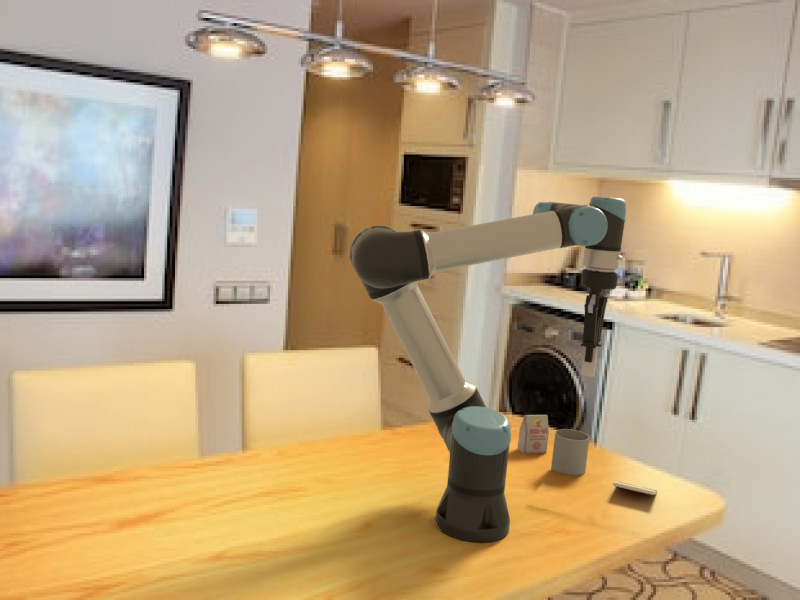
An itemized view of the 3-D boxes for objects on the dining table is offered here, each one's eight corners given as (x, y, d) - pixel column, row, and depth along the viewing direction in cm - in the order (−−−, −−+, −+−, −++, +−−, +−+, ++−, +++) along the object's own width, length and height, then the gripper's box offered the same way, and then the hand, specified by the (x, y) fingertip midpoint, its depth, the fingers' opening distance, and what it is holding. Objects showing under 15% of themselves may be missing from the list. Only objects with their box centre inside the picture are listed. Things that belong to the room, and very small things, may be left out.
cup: (575, 482, 182) (580, 442, 180) (545, 472, 186) (549, 433, 185) (590, 473, 188) (594, 435, 187) (559, 464, 193) (564, 426, 192)
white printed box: (517, 448, 202) (521, 413, 200) (540, 448, 204) (544, 412, 202) (523, 453, 199) (527, 417, 197) (546, 453, 200) (550, 417, 199)
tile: (612, 481, 171) (612, 485, 171) (653, 491, 167) (653, 495, 167) (618, 481, 181) (617, 485, 180) (657, 490, 177) (656, 494, 177)
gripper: (612, 273, 154) (599, 384, 158) (623, 269, 166) (610, 372, 170) (576, 269, 158) (563, 378, 161) (589, 265, 169) (577, 367, 173)
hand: (587, 375), depth 165 cm, fingers closed
